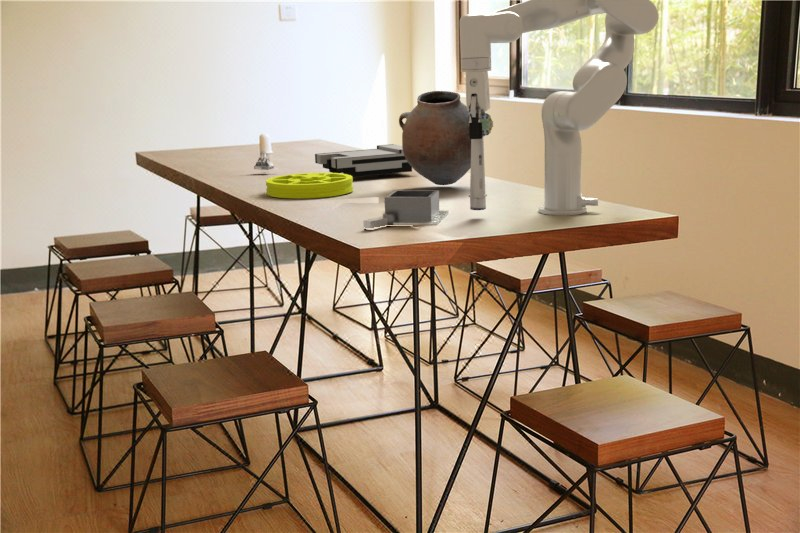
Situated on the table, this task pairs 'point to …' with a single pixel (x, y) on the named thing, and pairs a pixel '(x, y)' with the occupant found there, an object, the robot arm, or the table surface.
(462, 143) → the clay pot
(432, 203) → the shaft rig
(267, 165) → the house of cards
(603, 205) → the table surface
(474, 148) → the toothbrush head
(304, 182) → the pulley
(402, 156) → the game console
